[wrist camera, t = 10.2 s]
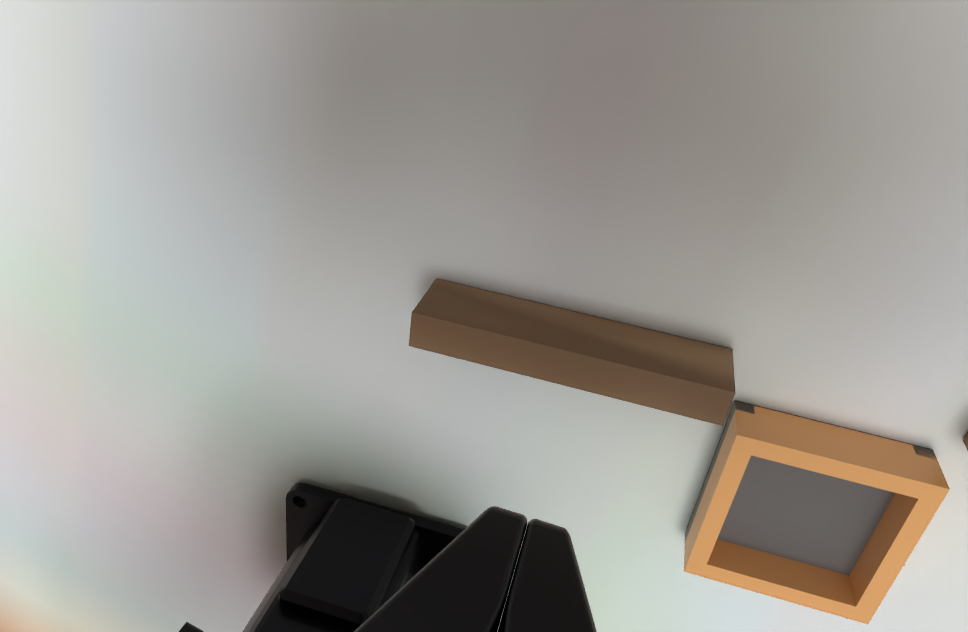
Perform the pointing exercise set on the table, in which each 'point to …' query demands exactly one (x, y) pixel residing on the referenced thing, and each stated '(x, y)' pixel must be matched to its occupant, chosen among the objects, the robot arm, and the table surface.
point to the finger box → (577, 350)
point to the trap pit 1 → (811, 511)
